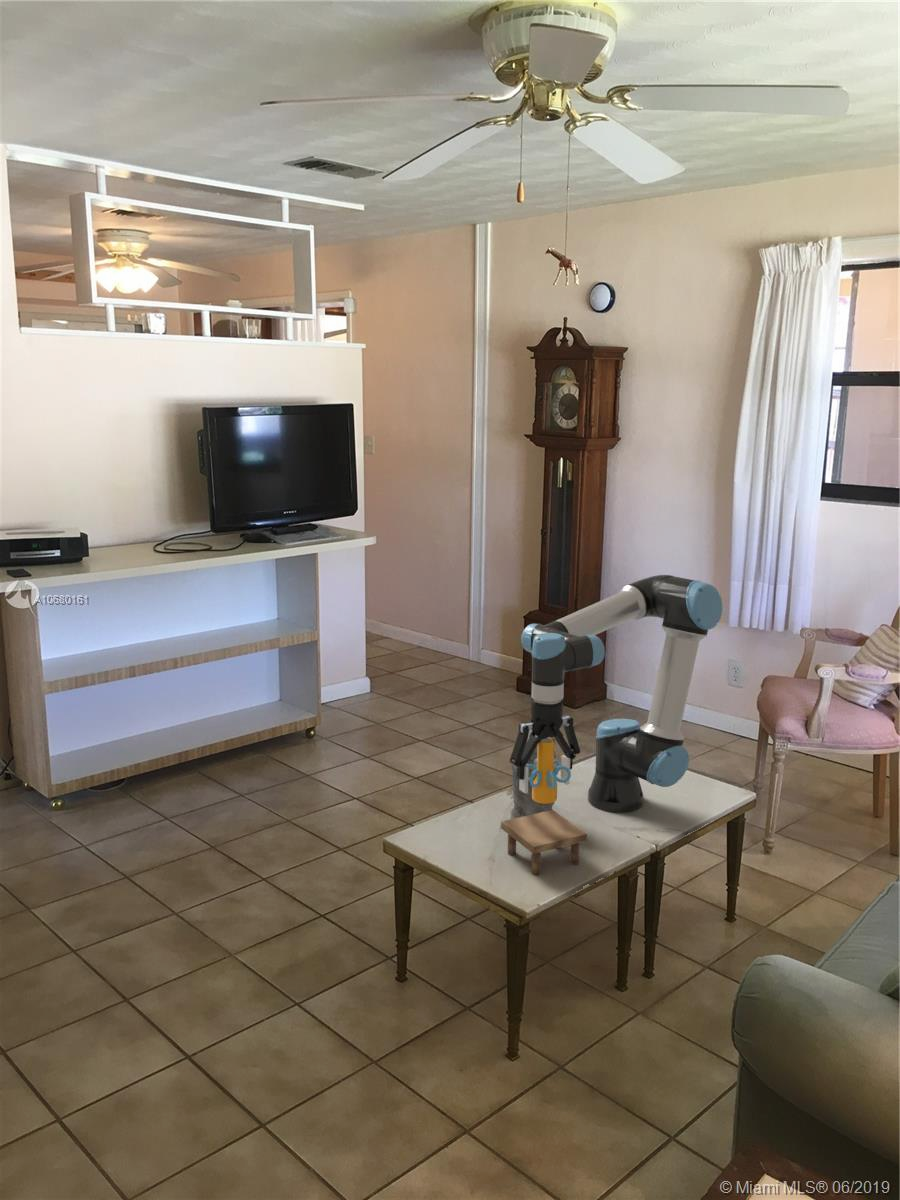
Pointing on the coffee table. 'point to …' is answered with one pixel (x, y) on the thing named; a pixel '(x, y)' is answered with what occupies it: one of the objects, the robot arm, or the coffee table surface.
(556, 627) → the robot arm
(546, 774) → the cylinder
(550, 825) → the small wooden table
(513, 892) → the coffee table surface
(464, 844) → the coffee table surface
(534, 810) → the figurine
